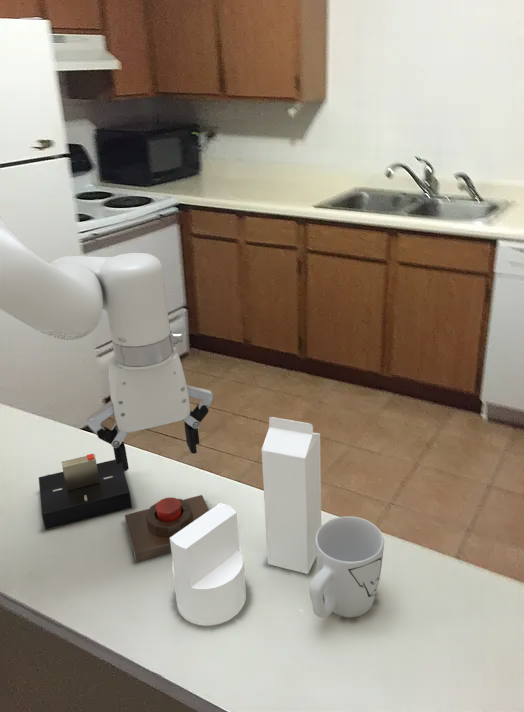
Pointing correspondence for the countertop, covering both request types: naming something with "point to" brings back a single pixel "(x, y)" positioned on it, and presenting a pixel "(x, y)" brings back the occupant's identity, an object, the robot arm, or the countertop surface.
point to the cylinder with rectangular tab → (209, 568)
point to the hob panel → (83, 496)
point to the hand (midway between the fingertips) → (158, 457)
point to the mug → (346, 567)
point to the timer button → (168, 509)
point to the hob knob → (80, 472)
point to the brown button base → (160, 528)
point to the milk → (291, 493)
